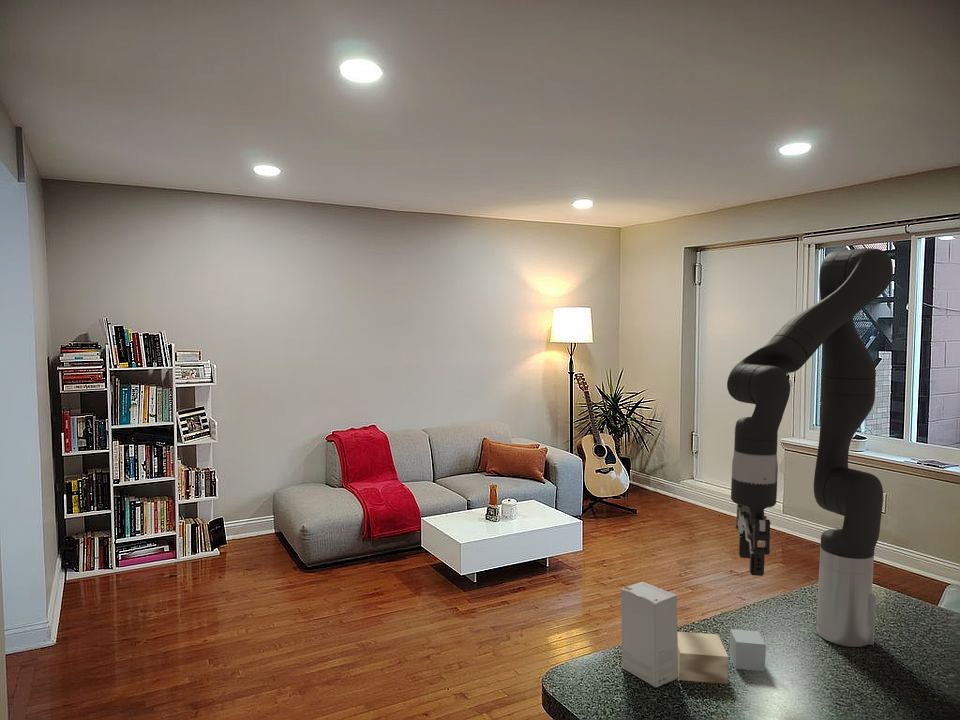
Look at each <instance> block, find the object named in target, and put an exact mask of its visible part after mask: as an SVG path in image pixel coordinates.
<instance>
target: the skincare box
mask: <svg viewBox="0 0 960 720" xmlns="http://www.w3.org/2000/svg"><path fill="white" fill-rule="evenodd" d="M620 593H621V594H620V597H621V599H620V603H621V604H620V605H621V606H620V607H621V610H620V611H621V659H622V660H621V663H622V665H621V668H622V669H623V670H625V671H626V672H627V673H628V672H629V673H630V674H632V675H633V676H635V677H637V678H638V679H640V680H642V681H643V682H646V683H647V684H648V685H651V686H652V687H654V688H658V687H660V686H661V687H662V686H663V685H666V684H668V683H670V682H673V681H675V680H677V679H678V636H677V632H678V595H677V594H675V593H673V592H670V591H667V590H664V589H662V588H660V587H657V586H655V585H652V584H649V583H648V582H645V581H640V582H637V583H634V584H632V585H629V586H625V587H622V588H621V589H620Z"/></svg>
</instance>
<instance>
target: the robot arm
mask: <svg viewBox="0 0 960 720" xmlns="http://www.w3.org/2000/svg"><path fill="white" fill-rule="evenodd" d="M893 275H894V266H893V262H892V259H891V257H890V255H888V253H887V252H886V251H885V250H882V249H879V248H871V247H869V248H855V249H854V248H853V249H846V250H845V249H844V250H835V251H831V252H830V253H828V254H826V256H825V257H824V258H823V261H822V262H821V264H820V269H819V279H818V280H819V282H818V283H819V285H818V286H819V299H820V300H819V301H817V302H816V303H815V304H813V305H811V306H808V308H805V309H803V310H802V311H800V312H799V313H797V314H796V315H794V316H793V317H792V318H790V319H789V320H788V321H787V322H786V323H785V324H783V326H781V328H780V329H779V330H778V331H777V332H776V334H774V336H773V337H772V338H771V339H770V340H769V341H768V342H767V343H766V344H764V345H763V346H761V347H759V348H757V349H755V351H753V352H751V353H750V354H748V355H747V356H746V357H744V358H743V359H741V360H740V361H739V362H738V363H737V364H735V366H734V367H733V368H732V369H731V371H730V372H729V375H728V377H727V382H726V389H727V391H728V394H729V395H730V396H731V398H732V399H734V400H736V401H738V402H740V403H745V404H751V405H755V407H754V409H753V412H752V414H751V416H746V417H740V418H739V419H738V420H737V421H736V422H735V427H734V445H733V447H734V450H733V457H732V461H731V462H732V463H731V483H730V484H731V485H730V488H731V489H730V500H731V501H732V502H733V503H735V504H736V506H737V507H736V522H735V523H736V524H735V529H736V530H737V535H738V537H739V538H738V545H739V546H738V556H739V558H741V559H749V573H750V575H751V576H755V577H756V576H757V577H759V576H760V577H762V576H764V574H765V556H769V555H770V553H771V552H770V551H771V550H770V549H771V548H770V545H771V544H770V543H771V539H770V538H771V525H772V524H771V523H772V522H771V520H770V519H768V518H767V515H765V509H767V508H772V507H774V506H776V505H777V499H778V498H777V495H778V475H779V473H778V472H779V471H778V470H779V469H778V467H779V464H778V462H779V461H778V434H779V433H778V432H779V428H780V425H781V423H782V419H783V416H784V414H785V411H786V407H787V404H788V403H789V399H790V395H791V382H790V379H789V375H788V374H791V373H795V372H797V371H798V370H800V369H801V368H802V367H803V366H804V365H805V364H806V363H807V362H808V360H809V359H810V358H811V357H812V356H813V354H815V352H817V350H818V349H819V348H820V347H821V345H822V360H821V362H822V363H821V376H820V379H821V380H820V420H819V421H820V424H819V438H818V447H817V454H816V463H815V467H814V476H813V494H814V495H813V496H814V499H815V501H816V503H817V505H818V506H819V508H820V507H821V508H822V509H823V510H825V511H827V512H831V513H834V514H838V515H840V516H843V523H842V524H843V525H842V526H841V528H833V529H828V530H825V531H823V532H822V533H821V536H820V549H819V550H820V551H819V565H818V566H819V569H818V585H817V587H818V590H817V607H816V609H817V610H816V633H817V634H818V635H819V637H821V638H822V639H824V640H826V641H828V642H829V643H833V644H835V645H840V646H844V647H851V648H860V647H865V646H870V645H871V646H874V644H875V630H876V629H875V627H876V626H875V625H876V610H877V609H876V607H877V597H876V595H875V594H874V593H873V583H874V581H873V580H874V565H875V564H874V561H875V549H876V546H877V543H878V541H879V537H880V531H881V530H880V529H881V522H882V521H881V520H882V515H883V514H882V513H883V504H884V489H883V485H882V483H881V480H880V479H879V478H878V476H876V475H875V474H872V473H870V472H866V471H863V470H859V469H854V468H851V467H849V454H850V453H849V452H850V445H851V442H852V439H853V437H854V435H855V434H856V432H857V430H858V429H859V428H860V427H861V425H862V424H863V422H864V421H865V420H866V419H867V417H868V415H869V414H870V413H871V411H872V409H873V407H874V404H875V399H876V382H877V381H876V380H877V378H876V377H877V370H876V369H877V368H876V366H875V365H876V364H875V362H874V360H873V358H872V356H871V354H870V351H869V350H868V348H867V346H866V345H865V343H864V341H863V339H862V338H861V336H860V335H859V332H858V331H857V328H856V324H855V321H854V316H855V315H857V314H858V313H859V312H861V311H862V310H863V309H864V308H866V307H867V306H868V305H869V304H871V303H872V302H873V301H875V300H876V299H877V298H879V297H880V296H881V295H882V294H883V293H884V292H885V291H886V290H887V289H888V287H889V286H890V284H891V282H892V279H893ZM758 543H760V546H758Z"/></svg>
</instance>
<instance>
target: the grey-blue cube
mask: <svg viewBox="0 0 960 720" xmlns="http://www.w3.org/2000/svg"><path fill="white" fill-rule="evenodd" d="M729 632H730V633H729V654H728V656H729V658H730V660H731V662H732V665H733V667H734V669H735V670H743V669H744V671H745V670H748V671H754V672H755V671H756V672H765V671H766V650H767V649H766V648H767V644H766V642H765V640H764V639H763V636H762V634H761V633H760V631H758V630H757V631H756V630H750V629H749V630H745V629H736V628H735V629H734V628H733V629H732V628H730V631H729Z"/></svg>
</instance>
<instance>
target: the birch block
mask: <svg viewBox="0 0 960 720" xmlns="http://www.w3.org/2000/svg"><path fill="white" fill-rule="evenodd" d="M677 636H678V677H677V679H678V681H687V682H688V681H689V682H701V683H713V684H725V685H726V684H728V681H729V680H728V679H729V678H728V677H729V659H730V656H729V654H728V653H727V651H726V648H725V647H724V645H723V642H722V640H721V638H720V636H719V634H718V633H704V632H703V633H702V632H689V631H688V632H687V631H677Z"/></svg>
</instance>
